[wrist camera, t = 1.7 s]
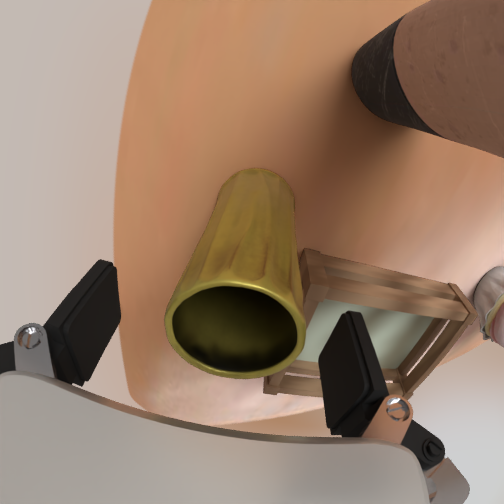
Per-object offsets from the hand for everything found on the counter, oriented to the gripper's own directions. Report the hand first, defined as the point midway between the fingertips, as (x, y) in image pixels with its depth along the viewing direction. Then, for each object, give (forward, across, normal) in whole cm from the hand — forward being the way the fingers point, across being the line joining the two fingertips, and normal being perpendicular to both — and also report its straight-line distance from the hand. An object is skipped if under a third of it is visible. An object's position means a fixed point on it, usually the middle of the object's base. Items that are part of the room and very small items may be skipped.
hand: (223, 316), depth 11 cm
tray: (+13, -15, +10) cm, 22 cm away
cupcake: (+13, -31, +2) cm, 33 cm away
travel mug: (+13, -9, -13) cm, 20 cm away
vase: (+13, -1, 0) cm, 13 cm away
